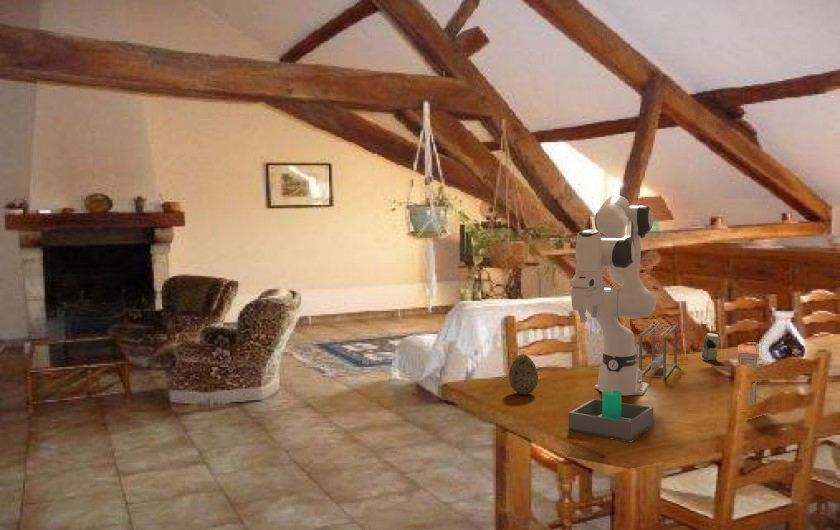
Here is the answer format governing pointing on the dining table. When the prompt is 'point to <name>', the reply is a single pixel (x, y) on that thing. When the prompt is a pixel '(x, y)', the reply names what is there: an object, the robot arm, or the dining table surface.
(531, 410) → the dining table surface
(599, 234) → the robot arm
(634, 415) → the walled box
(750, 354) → the cracker box
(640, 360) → the newton's cradle
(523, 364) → the decorative egg
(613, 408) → the candle
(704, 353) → the beverage can
